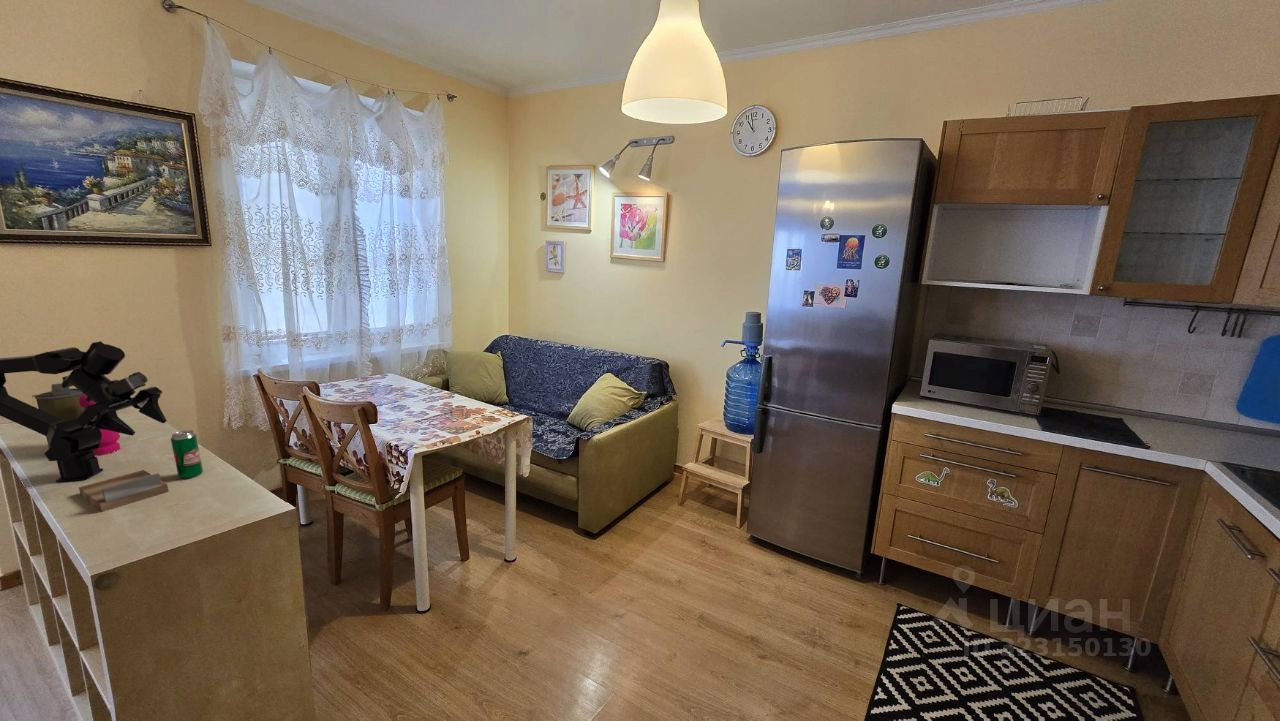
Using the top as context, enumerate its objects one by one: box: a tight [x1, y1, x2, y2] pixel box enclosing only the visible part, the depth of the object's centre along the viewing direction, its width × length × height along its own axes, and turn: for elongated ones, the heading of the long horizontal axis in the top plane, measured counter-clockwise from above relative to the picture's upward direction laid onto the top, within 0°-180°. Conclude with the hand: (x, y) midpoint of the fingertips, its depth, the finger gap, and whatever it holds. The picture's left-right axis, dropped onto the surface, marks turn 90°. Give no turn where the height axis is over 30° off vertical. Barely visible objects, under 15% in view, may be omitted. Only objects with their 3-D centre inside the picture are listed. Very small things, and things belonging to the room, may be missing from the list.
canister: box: [31, 382, 85, 449], centre depth 155 cm, size 11×10×20 cm
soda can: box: [170, 429, 204, 480], centre depth 137 cm, size 5×5×12 cm
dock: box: [78, 469, 170, 512], centre depth 128 cm, size 16×12×5 cm
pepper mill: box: [79, 394, 121, 456], centre depth 152 cm, size 7×7×20 cm
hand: (150, 427), depth 136 cm, fingers open, 9 cm apart
